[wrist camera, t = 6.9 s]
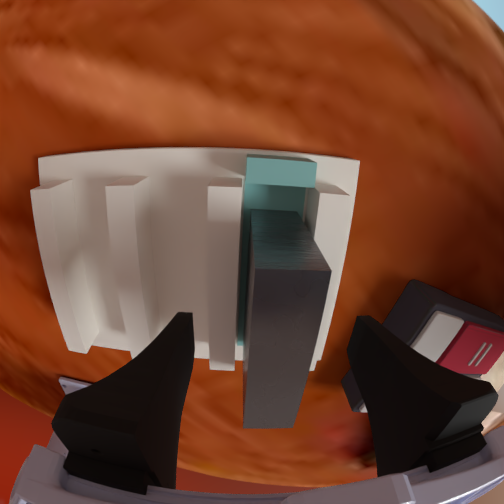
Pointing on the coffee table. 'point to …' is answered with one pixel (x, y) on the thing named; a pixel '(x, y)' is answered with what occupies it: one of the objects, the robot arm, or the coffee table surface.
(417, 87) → the coffee table surface
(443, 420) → the robot arm
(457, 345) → the calculator
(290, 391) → the panel
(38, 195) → the rack
